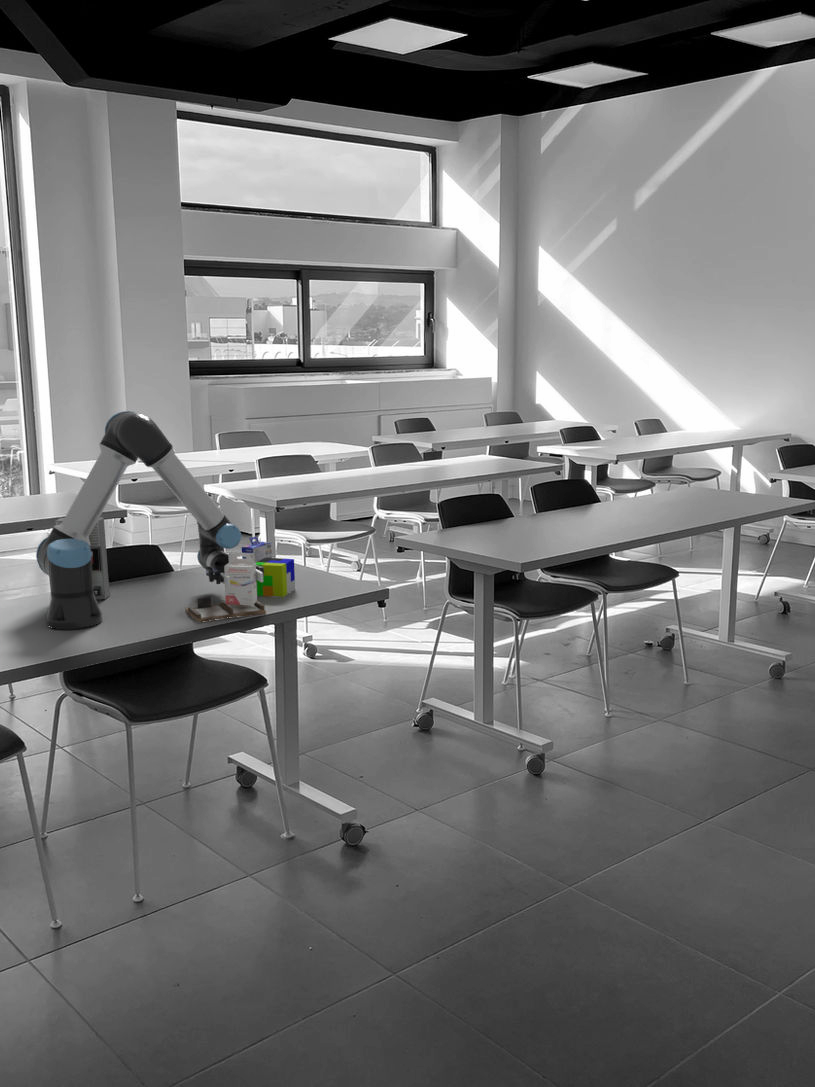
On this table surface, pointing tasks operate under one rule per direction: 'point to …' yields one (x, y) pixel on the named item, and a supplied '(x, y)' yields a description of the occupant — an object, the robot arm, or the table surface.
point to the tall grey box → (98, 559)
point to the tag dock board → (222, 610)
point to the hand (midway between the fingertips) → (245, 579)
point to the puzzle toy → (276, 577)
